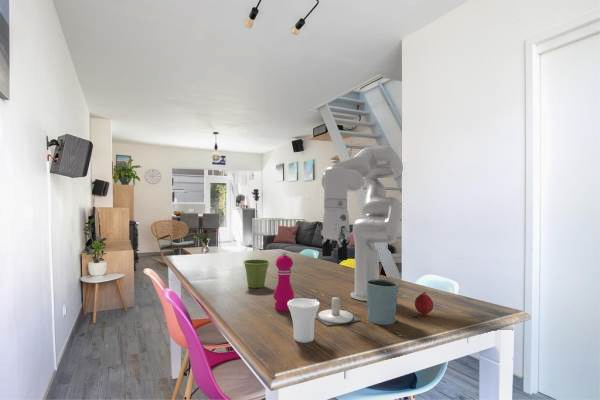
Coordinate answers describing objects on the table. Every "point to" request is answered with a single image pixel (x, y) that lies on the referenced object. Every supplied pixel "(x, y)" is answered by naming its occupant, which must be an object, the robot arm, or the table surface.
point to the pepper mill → (283, 282)
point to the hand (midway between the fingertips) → (334, 258)
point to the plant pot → (256, 272)
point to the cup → (303, 318)
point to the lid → (335, 313)
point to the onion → (424, 304)
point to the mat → (335, 323)
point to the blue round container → (381, 301)
